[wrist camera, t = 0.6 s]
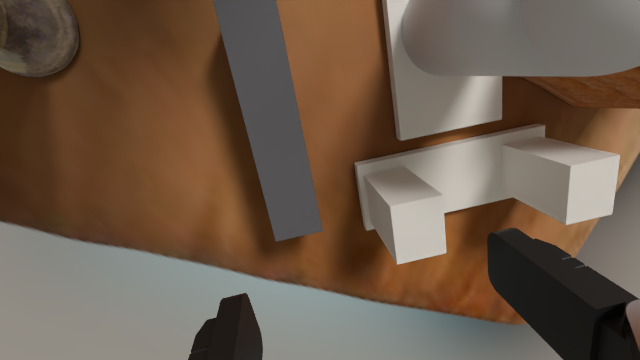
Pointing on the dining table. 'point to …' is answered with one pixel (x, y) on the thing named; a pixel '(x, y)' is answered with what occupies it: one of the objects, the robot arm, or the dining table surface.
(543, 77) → the bread
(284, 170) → the gray bar
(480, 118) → the display stand
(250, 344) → the robot arm
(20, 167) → the dining table surface
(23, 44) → the decorative bust
